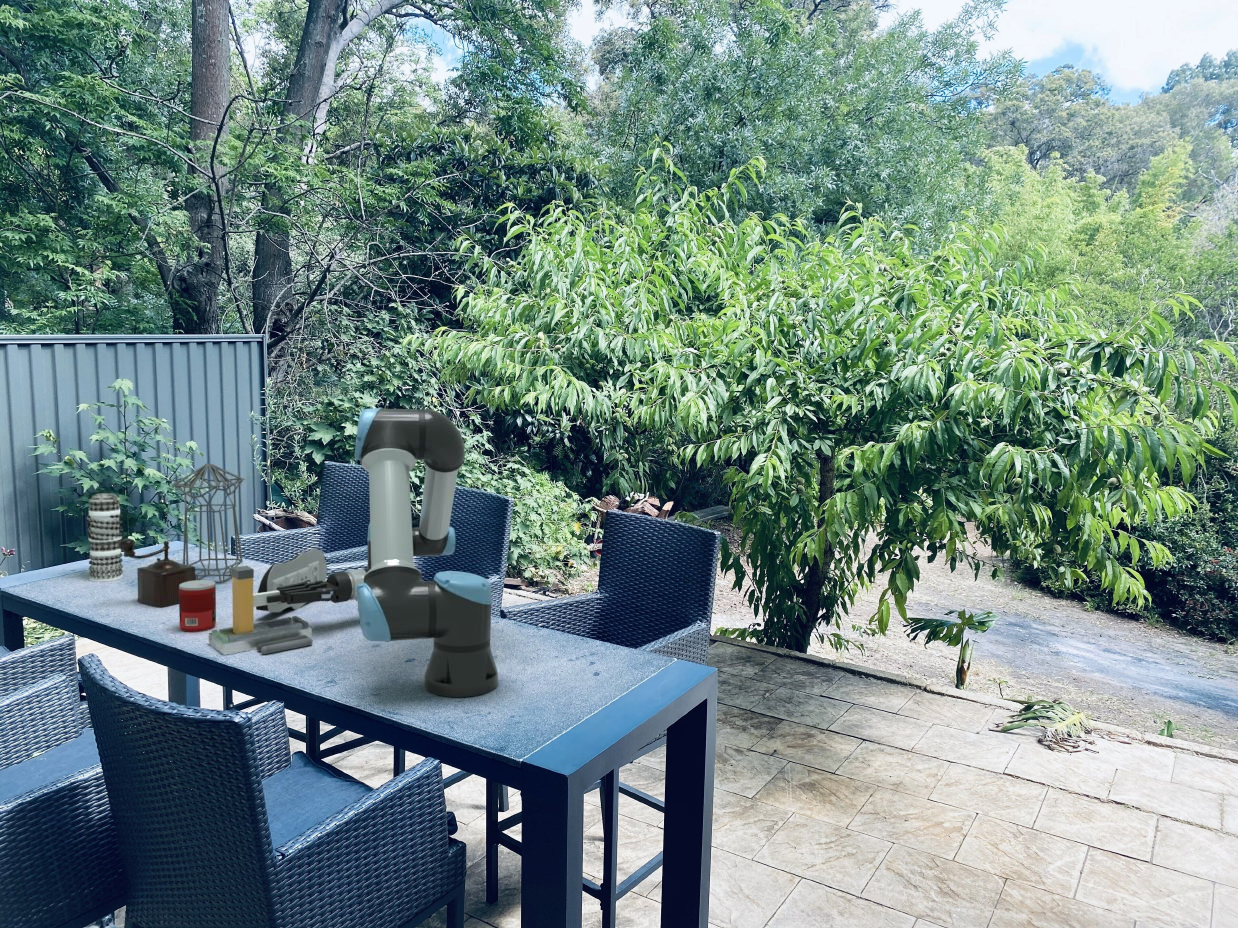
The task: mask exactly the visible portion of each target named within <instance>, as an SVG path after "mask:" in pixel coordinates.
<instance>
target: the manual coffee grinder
mask: <svg viewBox="0 0 1238 928" xmlns="http://www.w3.org/2000/svg"><path fill="white" fill-rule="evenodd" d="M169 543H170V542H169V541H168V540H164V541H163V546H162V547H163V548H161V549H159V550H156V551H153V552H150V553H146V554H142V555H136V551H135V550H134V547H135V545H136V542H135V540H134V539H133V538H122V539H120V542H119V543H118V547H119V548H120V549H121V552H123V557H125V558H131V559H135V560H138V559H139V560H141V559H145V558H150V557H153V556H156V555H158V554H161V553H164V558H163V559H161V558H159V557H157V558H156V561H155V562H154V563H151V564H149V565H147V566H143V567H137V569H136V573H137V599H136V602H138V603H140V604H142V605H147V606H149V607H153V608H159V609H163V608H169V607H173V606H177V605H179V585H180V584H182V583H184V582H188V581H195V580H196V578H195V574H196V570H195V568H196V567H195V566H194V565H192V566H189V564H188V565H186V563H185V564H183V563H180V562H177V561H175V560H173V559H170V558H169V549H170V545H169Z"/></svg>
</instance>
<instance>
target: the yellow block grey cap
mask: <svg viewBox="0 0 1238 928" xmlns="http://www.w3.org/2000/svg"><path fill="white" fill-rule="evenodd" d="M254 573H255V571H254V568H252V567H251V566H248V565H242V566H237V567H235V566H233V567H232V573H231V575H232V578H231V580H232V581H231V584H232V585H231V586H232V591H231V592H232V627H233V632H234V633H235V634H241V633H246V632H252V631H254V628H253V623H254V607H253V594H254V578H255V575H254Z"/></svg>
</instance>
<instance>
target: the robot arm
mask: <svg viewBox="0 0 1238 928" xmlns="http://www.w3.org/2000/svg"><path fill="white" fill-rule="evenodd" d="M465 453H466V449H465V442H464V438H463V437H462V435H461V432H460V431H459V429H458V428H457V426H456V425H455V424H454V422H453V421H452V420H451V419H450V418H449V417H448V416H446V415H445V414H443V413H441V412H439V411H436V410H434V409H427V408H426V409H425V408H423V409H419V408H418V409H416V408H415V409H414V408H413V409H410V408H409V409H407V408H406V409H405V408H404V409H403V408H383V407H378V408H365V409H363V410H362V411H361V412H360V414H359V417H358V424H357V430H356V440H355V447H354V458H355V460H358V461H361V467H362V469H364V470H365V471H366V472H367V473H368V480H369V481H368V482H369V483H368V485H369V524H368V526H367V527H368V529H367V567H366V568H358V569H349V570H346V571H338V572H332V573H330V574H329V575H328V576H327V577H326V581H325V582H323V581H321V580H320V581H315V582H312V583H311V581H310V580H307V581H304V582H301V583H296V584H292V585H287V586H283V587H278V588H277V591H270V592H263V593H258V592H257V593H253V608H256V607H257V606H263V605H269V604H276V603H278V604H280V602H281V603H287V604H298V603H305V604H307V603H316V602H331V603H334V604H338V603H344V602H348V601H356V602H357V610H358V619H359V623H360V624H359V625H360V630H361V634H362V636H363V637H364V638H365V640H367V641H369V642H385V643H390V642H395V641H396V642H397V641H407V640H409V641H411V640H412V641H413V640H424V639H433V649H432V653H431V656H430V659H429V661H428V663H427V667H426V669H425V672H424V678H423V679H424V688H425V689H426V690H427V691H428V692H430V693H432V694H434V695H438V696H442V697H450V698H468V697H473V696H480V695H483V694H486V693H489V692H491V691H493V690H494V689H495V688H496V687H497V686H498V684H499V672H498V668H497V666H496V661H495V659H494V656H493V652H492V648H491V636H492V635H491V633H492V631H491V629H492V627H491V626H492V625H491V624H492V604H493V599H492V597H493V596H492V586H491V583H490V581H489V580H488V579H486V578H485V577H483V576H481V575H478V574H474V573H471V572H464V571H456V570H455V571H454V570H446V571H439V572H437V573H435V575H434V577H433V580H423V573H422V571H421V570H420V569H418V567H416V566H414V565H415V562H414V557H442V556H449V555H450V556H451V555H452V554H454V552H455V549H456V531H455V528H454V527H451V526H450V524H451V518H452V511H453V505H454V498H455V491H456V487H457V486H456V484H457V479H458V478H457V477H458V472H459V470H460V469H461V468H462V466H463V465H464V460H465V455H466V454H465ZM416 461H423V464H424V465H425V472H424V473H425V475H424V484H423V492H422V500H421V511H420V519H419V527H413V523H412V521H413V520H412V519H413V518H412V504H411V503H412V502H411V501H412V500H411V484H410V483H411V480H410V472H411V471H412V470H413V469H414V468H415V467H416Z"/></svg>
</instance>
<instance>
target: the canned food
mask: <svg viewBox="0 0 1238 928" xmlns="http://www.w3.org/2000/svg"><path fill="white" fill-rule="evenodd" d="M216 586H217V585H216V583H215V582H214V580H208V579H200V580H195V581H188V582H184V583H182V584H180V585H179V604H178V605H179V606H178V610H179V612H178V613H179V616H178V617H179V629H180V630H181V631H183V632H186V633H198V632H205V631H209V630H211V629H213V628H215V627H216V625H217V590H216V588H217V587H216Z"/></svg>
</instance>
